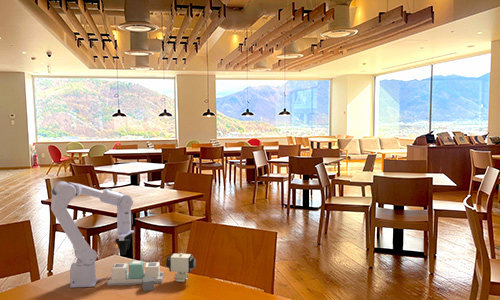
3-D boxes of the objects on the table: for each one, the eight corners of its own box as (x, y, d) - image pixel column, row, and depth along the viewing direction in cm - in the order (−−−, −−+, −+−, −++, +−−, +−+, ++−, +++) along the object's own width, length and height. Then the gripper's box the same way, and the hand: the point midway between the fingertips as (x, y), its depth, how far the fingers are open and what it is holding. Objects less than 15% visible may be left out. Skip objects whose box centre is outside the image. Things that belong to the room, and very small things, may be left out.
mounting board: (107, 285, 163) (106, 269, 163) (112, 276, 173) (111, 261, 173) (161, 283, 166) (161, 267, 166) (163, 274, 176) (163, 259, 176)
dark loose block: (143, 291, 159) (143, 282, 158) (142, 287, 162) (142, 278, 162) (154, 290, 160) (153, 280, 160) (152, 286, 164) (152, 276, 163)
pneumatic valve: (193, 283, 166) (193, 255, 165) (166, 282, 168) (165, 254, 167) (196, 278, 172) (196, 251, 171) (170, 276, 173) (169, 249, 172)
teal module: (129, 281, 167) (128, 264, 166) (130, 277, 171) (130, 260, 171) (142, 280, 167) (142, 264, 167) (143, 276, 172) (143, 260, 171)
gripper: (130, 225, 168) (131, 257, 169) (136, 217, 182) (136, 246, 183) (113, 226, 167) (114, 257, 168) (120, 217, 181) (120, 246, 182)
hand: (124, 251), depth 176 cm, fingers open, 7 cm apart
